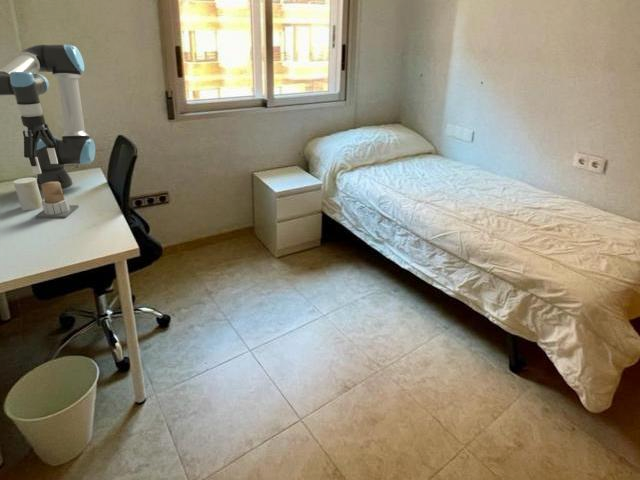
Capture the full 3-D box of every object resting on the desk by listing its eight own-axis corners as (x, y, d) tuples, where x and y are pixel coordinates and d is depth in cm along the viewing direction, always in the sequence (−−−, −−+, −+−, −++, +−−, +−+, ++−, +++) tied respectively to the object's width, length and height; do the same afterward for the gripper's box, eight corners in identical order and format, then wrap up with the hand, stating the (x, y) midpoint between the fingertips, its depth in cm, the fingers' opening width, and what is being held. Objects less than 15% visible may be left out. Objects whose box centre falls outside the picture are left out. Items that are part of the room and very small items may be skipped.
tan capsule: (52, 206, 187) (46, 181, 182) (69, 206, 188) (63, 181, 183) (44, 212, 181) (37, 187, 176) (61, 212, 181) (55, 186, 177)
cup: (33, 211, 186) (25, 184, 181) (16, 209, 188) (8, 182, 182) (47, 204, 193) (40, 178, 188) (31, 202, 195) (24, 176, 190)
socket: (50, 207, 190) (47, 195, 188) (78, 207, 191) (75, 195, 188) (35, 218, 179) (32, 205, 177) (65, 217, 180) (62, 205, 177)
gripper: (38, 109, 178) (52, 159, 188) (2, 121, 156) (19, 178, 165) (57, 109, 179) (70, 159, 188) (24, 121, 156) (40, 178, 166)
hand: (46, 168), depth 177 cm, fingers open, 13 cm apart
